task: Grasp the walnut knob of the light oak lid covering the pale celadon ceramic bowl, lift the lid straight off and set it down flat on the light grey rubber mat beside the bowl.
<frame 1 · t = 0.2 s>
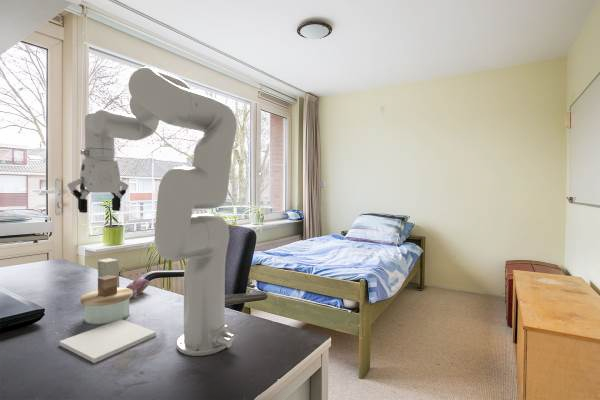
hand: (100, 211, 99), 30 cm above the table, fingers open, 9 cm apart
bowl: (107, 316, 94), on the table
skincare box: (108, 294, 112), on the table
lid: (107, 297, 93), point 5 cm above the table, touching bowl
video game controller: (134, 296, 112), on the table
mat: (109, 340, 79), on the table
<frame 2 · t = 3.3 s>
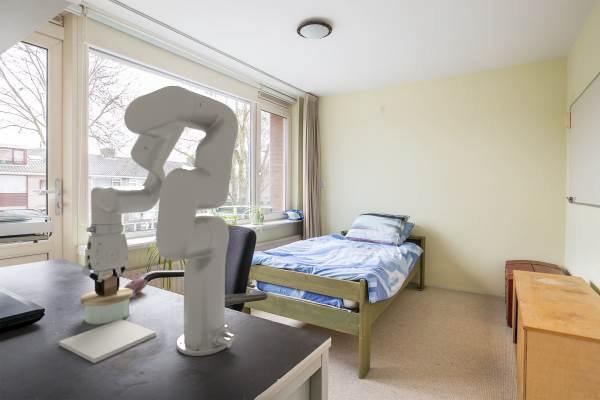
hand: (107, 291, 93), 7 cm above the table, fingers closed on lid, 3 cm apart
lid: (107, 297, 93), point 6 cm above the table, touching bowl, gripper
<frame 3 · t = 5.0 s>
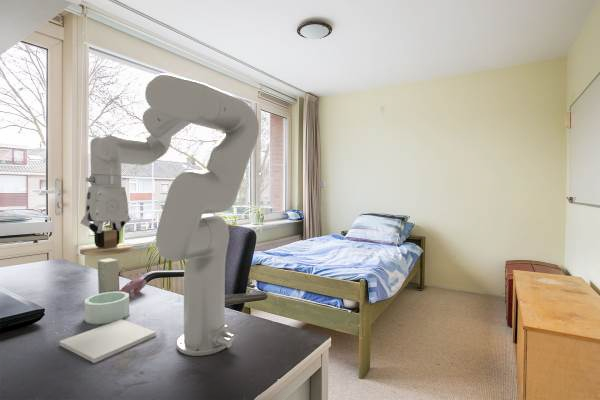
hand: (107, 244, 93), 21 cm above the table, fingers closed on lid, 3 cm apart
lid: (107, 250, 93), point 19 cm above the table, touching gripper
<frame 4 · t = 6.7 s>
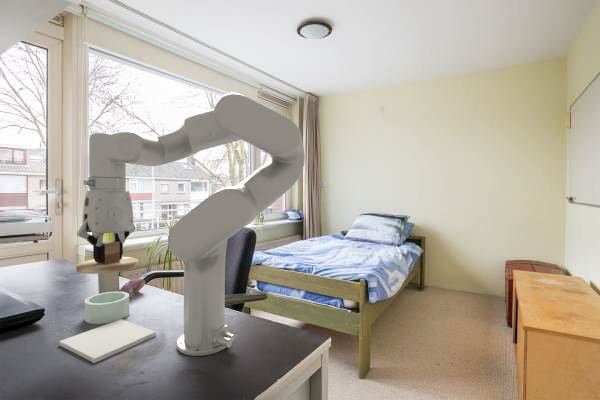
hand: (108, 259, 78), 20 cm above the table, fingers closed on lid, 3 cm apart
lid: (108, 266, 78), point 18 cm above the table, touching gripper
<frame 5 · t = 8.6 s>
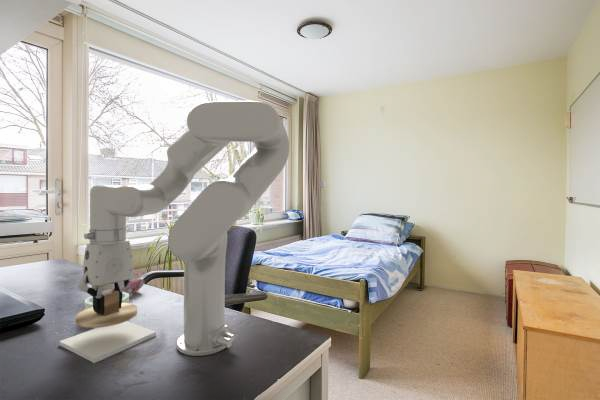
hand: (107, 309, 79), 8 cm above the table, fingers closed on lid, 3 cm apart
lid: (107, 316, 79), point 6 cm above the table, touching gripper
when the fingers open (5 cm above the table, at t = 10.0 s): lid drops 2 cm, resting on mat.
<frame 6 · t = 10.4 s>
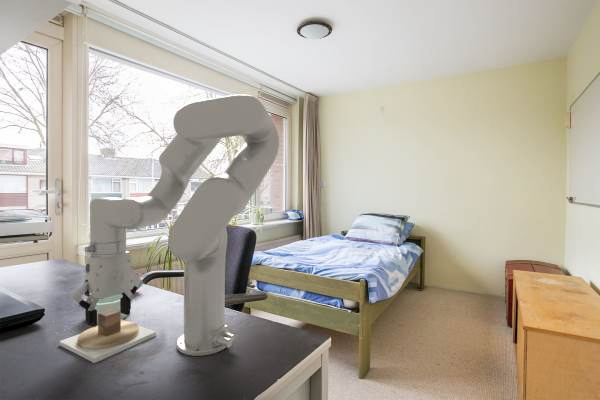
hand: (109, 318, 79), 5 cm above the table, fingers open, 7 cm apart
lid: (109, 336, 79), point 1 cm above the table, touching mat
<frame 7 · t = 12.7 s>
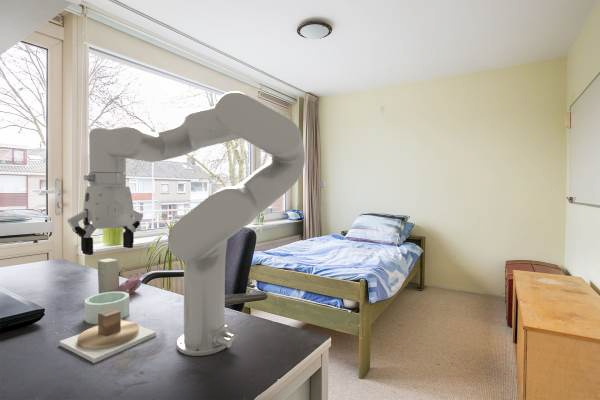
hand: (109, 250, 78), 22 cm above the table, fingers open, 9 cm apart
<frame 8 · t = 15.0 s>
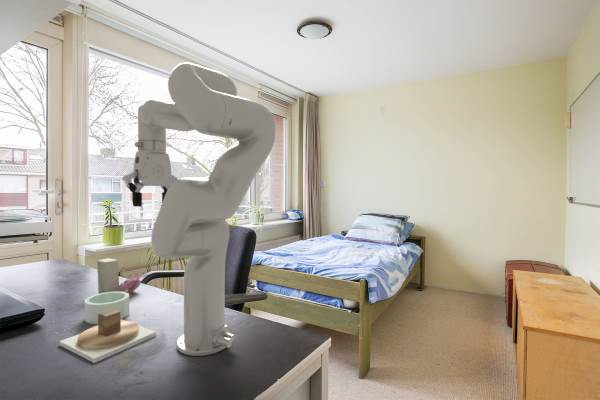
hand: (152, 205, 96), 32 cm above the table, fingers open, 9 cm apart
at the end: lid inside the target area on the mat (0.1 cm from its centre), point 1.0 cm above the mat's base; lid tilted 0°; the gripper is holding nothing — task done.
